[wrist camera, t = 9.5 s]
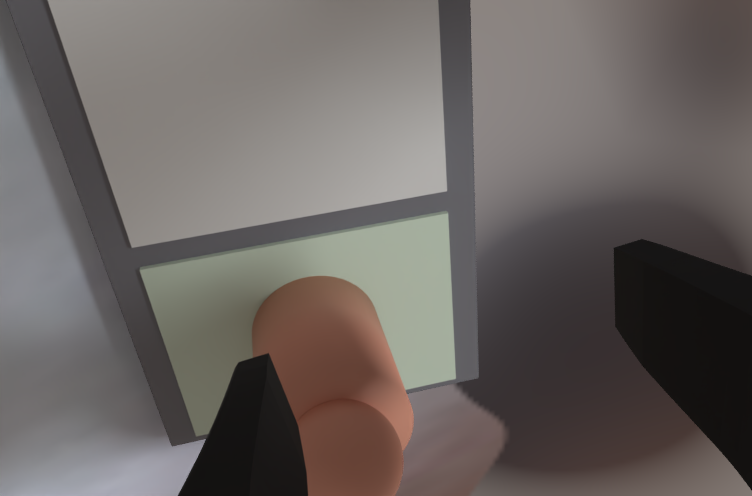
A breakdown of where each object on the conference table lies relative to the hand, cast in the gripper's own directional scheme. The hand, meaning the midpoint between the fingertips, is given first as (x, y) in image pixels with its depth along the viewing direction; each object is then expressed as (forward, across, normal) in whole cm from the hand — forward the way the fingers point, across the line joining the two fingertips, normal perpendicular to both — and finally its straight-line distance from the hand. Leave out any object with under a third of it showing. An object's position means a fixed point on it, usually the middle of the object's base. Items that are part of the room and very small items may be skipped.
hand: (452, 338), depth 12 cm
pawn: (+8, +3, +5) cm, 10 cm away
